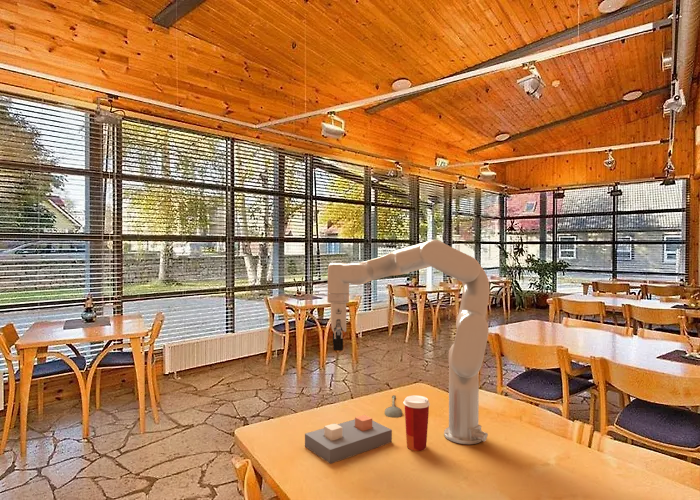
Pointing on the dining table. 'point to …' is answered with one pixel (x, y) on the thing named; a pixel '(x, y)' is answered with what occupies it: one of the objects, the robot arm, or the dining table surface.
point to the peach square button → (363, 423)
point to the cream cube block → (333, 432)
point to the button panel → (347, 441)
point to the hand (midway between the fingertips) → (337, 347)
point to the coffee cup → (416, 422)
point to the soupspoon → (393, 410)
